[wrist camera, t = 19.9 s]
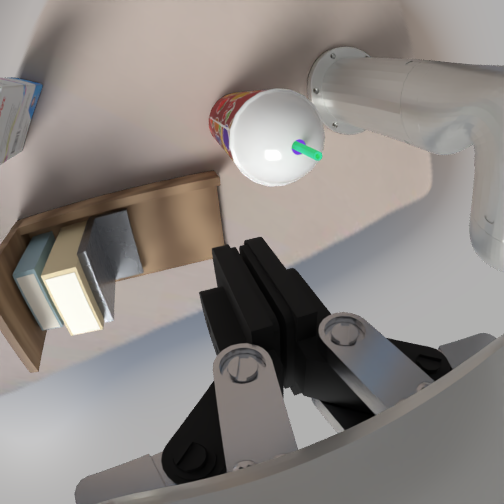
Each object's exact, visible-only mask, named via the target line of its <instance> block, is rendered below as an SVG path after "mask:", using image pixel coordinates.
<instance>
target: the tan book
mask: <svg viewBox="0 0 504 504" xmlns="http://www.w3.org/2000/svg"><path fill="white" fill-rule="evenodd" d="M86 223H87V221H83V222H80V223H76V224H72V225H69V226H65V227H62V228H61V230H60V232H59V234H58V236H57V238H56V241H55V243H54V245H53V247H52V250H51V252H50V254H49V257H48V259H47V262H46V264H45V266H44V269H43V271H42V274H41V278H42V280H43V282H44V284H45V286H46V289H47V291H48V293H49V295H50V297H51V299H52V301H53V303H54V305H55V307H56V309H57V310H58V312H59V314H60V316H61V318H62V320H63V322H64V324H65V325H66V327H67V329H68V331H69V333H70V334H71V336H73V335H78V334H82V333H87V332H92V331H96V330H101V329H103V326H104V318H103V316H102V313H101V311H100V309H99V307H98V305H97V302H96V300H95V298H94V296H93V293H92V291H91V289H90V286H89V284H88V281H87V279H86V277H85V274H84V272H83V269H82V267H81V264H80V261H79V259H78V256H77V252H78V248H79V245H80V242H81V239H82V235H83V232H84V229H85V226H86Z"/></svg>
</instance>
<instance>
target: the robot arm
mask: <svg viewBox="0 0 504 504" xmlns="http://www.w3.org/2000/svg"><path fill="white" fill-rule="evenodd" d="M330 55H331V57H330ZM313 89H314V92H313ZM307 93H308V99H309V100H310V101H311V102H312V103H313V104H314V105H315V107H316V109H317V110H318V112H319V114H320V116H321V118H322V123H323V125H324V126H325V127H327V128H328V129H330V130H332V131H334V132H337V133H340V134H346V135H354V134H358V133H361V132H363V131H365V130H368V131H372V132H375V133H378V134H381V135H384V136H387V137H390V138H393V139H396V140H398V141H401V142H404V143H407V144H409V145H412V146H415V147H418V148H420V149H423V150H426V151H428V152H431V153H435V154H440V155H449V154H454V153H457V152H460V151H462V150H464V149H466V148H468V147H470V146H471V145H474V149H475V163H474V166H475V175H474V187H473V196H472V205H471V214H470V225H469V226H470V228H469V232H470V240H471V243H472V246H473V248H474V250H475V252H476V254H477V255H478V256H479V257H480V258H481V259H482V260H483V261H484V262H485V263H486V264H488V265H489V266H491V267H493V268H495V269H497V270H499V271H502V272H504V66H495V65H493V66H492V65H472V64H461V63H449V62H440V61H430V60H429V61H428V60H417V59H402V58H376V57H371V56H370V55H368V54H367V53H365V52H364V51H362V50H360V49H357V48H353V47H337V48H333V49H331V50H328V51H327V52H325V53H323V54H322V55H321V56H320V57H319V58H318V59H317V60H316V62H315V63H314V65H313V66H312V68H311V71H310V74H309V78H308V83H307ZM239 250H240V254H239V252H238V250H237V249H236V247H233V248H230V246H229V245H228V244H227V245H223V246H219V247H214V248H212V256H213V262H214V268H215V274H216V280H217V286H218V287H217V288H213V289H209V290H205V291H201V292H199V294H200V299H201V304H202V308H203V312H204V316H205V320H206V323H207V327H208V330H209V334H210V337H211V340H212V343H213V346H214V349H215V352H216V355H217V357H216V359H215V361H214V363H213V375H214V381H213V383H212V384H211V385H210V387H209V389H208V390H207V391H206V393H205V394H204V395H203V397H202V398H201V399H200V401H199V402H198V404H197V405H196V406H195V407H194V409H193V410H192V412H191V413H190V414H189V416H188V417H187V418H186V420H185V421H184V423H183V424H182V425H181V426H180V428H179V429H178V431H177V432H176V433H175V434H174V436H173V437H172V438H171V440H170V441H169V442H168V444H167V445H166V447H165V449H164V450H163V452H160V453H158V454H155V455H153V456H150V455H149V454H147V455H145V456H142V457H140V458H137V459H135V460H132V461H129V462H127V463H124V464H121V465H119V466H116V467H113V468H110V469H107V470H105V471H102V472H99V473H96V474H93V475H90V476H87V477H85V478H84V479H82V480H81V481H80V482H79V484H78V485H77V486H76V490H75V500H76V504H504V334H503V335H501V336H500V337H499V338H497V339H496V338H495V337H494V336H492V335H490V334H486V333H480V334H477V335H473V336H470V337H467V338H465V339H461V340H458V341H455V342H452V343H448V344H445V345H442V346H439V348H438V350H437V349H434V348H431V347H427V346H422V345H417V344H412V343H408V342H403V341H398V340H393V339H388V338H385V337H384V336H383V335H382V334H381V333H380V332H378V331H377V330H376V329H375V328H374V327H373V326H372V325H370V324H369V323H368V322H367V321H366V320H365V319H363V318H361V317H360V316H358V315H355V314H352V313H345V312H342V313H334V314H332V315H331V313H330V312H329V311H328V310H327V308H326V307H325V306H324V305H323V303H322V302H321V301H320V299H319V298H318V297H317V296H316V294H315V293H314V292H313V290H312V289H311V288H310V287H309V286H308V284H307V283H306V282H305V280H304V279H303V278H302V277H301V275H300V274H299V273H298V272H297V271H296V270H295V269H294V268H291V269H287V270H286V268H285V267H284V266H283V264H282V263H281V262H280V260H279V259H278V258H277V256H276V255H275V254H274V252H273V251H272V250H271V249H270V247H269V246H268V245H267V243H266V242H265V241H264V239H263V238H262V237H258V238H253V239H249V240H245V241H244V245H242V246H240V248H239ZM283 386H284V388H289V387H290V388H291V390H292V392H293V394H294V395H297V394H299V393H302V394H303V395H304V396H307V397H311V398H312V401H313V403H314V405H315V406H316V407H317V409H318V410H319V411H320V412H321V414H322V415H323V416H324V417H325V419H326V420H327V421H328V422H329V423H330V425H331V426H332V427H333V428H334V429H335V431H336V432H337V433H338V434H336V435H334V436H331V437H329V438H327V439H324V440H322V441H320V442H317V443H315V444H312V445H310V446H308V447H305V448H302V449H299V450H298V448H297V444H296V441H295V438H294V434H293V431H292V427H291V424H290V421H289V418H288V414H287V410H286V407H285V404H284V400H283Z"/></svg>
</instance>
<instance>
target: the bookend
mask: <svg viewBox="0 0 504 504" xmlns="http://www.w3.org/2000/svg"><path fill="white" fill-rule="evenodd" d="M77 256H78V259H79V261H80V264H81V267H82V269H83V272H84V274H85V277H86V279H87V281H88V284H89V286H90V289H91V291H92V293H93V296H94V298H95V300H96V302H97V305H98V307H99V309H100V311H101V313H102V316H103V318H104V320H105V322H110V321H114V299H115V280H116V279H121V278H125V277H129V276H133V275H137V274H141V273H144V269H143V266H142V263H141V259H140V256H139V252H138V249H137V245H136V242H135V238H134V235H133V231H132V227H131V223H130V220H129V216H128V212H127V208H124V209H120V210H116V211H112V212H108V213H104V214H100V215H96V216H93V217H89V218H88V220H87V223H86V226H85V229H84V232H83V235H82V239H81V242H80V245H79V248H78V252H77Z"/></svg>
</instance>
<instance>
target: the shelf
mask: <svg viewBox="0 0 504 504" xmlns="http://www.w3.org/2000/svg"><path fill="white" fill-rule="evenodd" d="M219 185H220V178H219V176H218V175H217V174H216V172H215V171H208V172H203V173H198V174H193V175H188V176H183V177H178V178H174V179H169V180H164V181H160V182H155V183H151V184H147V185H142V186H138V187H134V188H130V189H126V190H122V191H118V192H114V193H110V194H106V195H102V196H98V197H95V198H91V199H87V200H84V201H80V202H77V203H73V204H70V205H66V206H63V207H59V208H56V209H53V210H49V211H46V212H43V213H40V214H37V215H34V216H30V217H27V218H24V219H21V220H18V221H17V222H16V223H15V224H14V226H13V227H12V228H11V230H10V232H9V233H8V235H7V236H6V238H5V239H4V240H3V242H2V243H1V245H0V330H1V332H2V333H3V335H4V337H5V338H6V340H7V341H8V343H9V344H10V345H11V347H12V348H13V350H14V351H15V353H16V354H17V356H18V357H19V358H20V360H21V361H22V362H23V364H24V365H25V366H26V368H27V369H28V370H29V372H30V373H33V372H39V366H40V361H41V355H42V350H43V345H44V341H45V336H46V332H47V330H44V331H42V330H41V328H40V326H39V324H38V323H37V321H36V319H35V318H34V316H33V314H32V312H31V310H30V309H29V307H28V305H27V303H26V301H25V299H24V297H23V296H22V294H21V292H20V290H19V288H18V286H17V284H16V282H15V280H14V278H13V276H12V275H13V273H14V271H15V269H16V267H17V265H18V263H19V261H20V259H21V257H22V255H23V253H24V252H25V250H26V248H27V246H28V244H29V243H30V241H31V239H32V237H33V236H37V235H40V234H43V233H47V232H50V231H52V232H53V235H54V237H55V240H56V238H57V236H58V234H59V232H60V230H61V228H62V227H65V226H69V225H72V224H76V223H80V222H83V221H87V220H88V218H89V217H93V216H96V215H100V214H104V213H108V212H112V211H116V210H120V209H124V208H127V212H128V216H129V220H130V223H131V227H132V231H133V235H134V238H135V242H136V245H137V249H138V252H139V256H140V259H141V263H142V266H143V269H144V273H141V274H137V275H133V276H129V277H125V278H121V279H116V280H115V282H116V281H121V280H125V279H129V278H133V277H137V276H141V275H146V274H150V273H154V272H158V271H162V270H166V269H171V268H175V267H179V266H183V265H187V264H192V263H196V262H200V261H204V260H208V259H213V256H212V248H214V247H219V246H223V245H224V238H223V231H222V223H221V216H220V208H219V200H218V193H217V186H219Z"/></svg>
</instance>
